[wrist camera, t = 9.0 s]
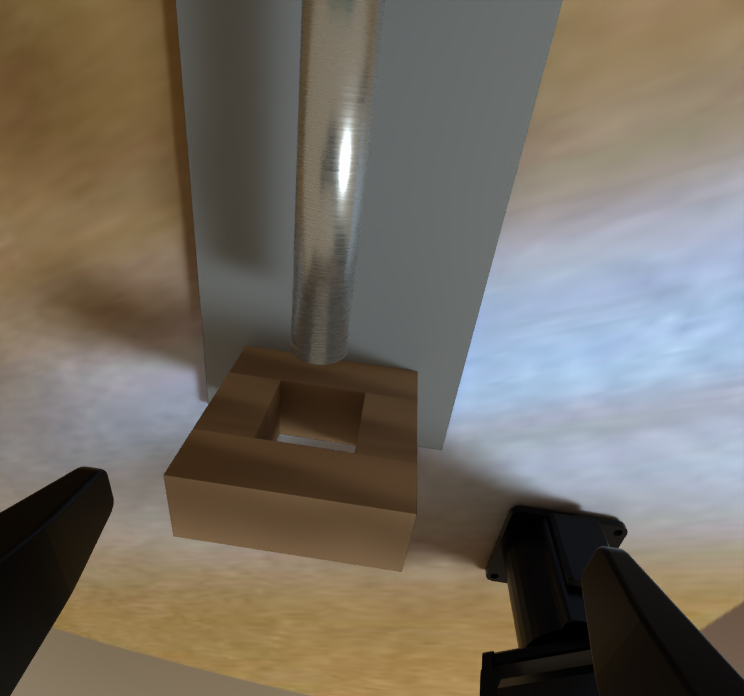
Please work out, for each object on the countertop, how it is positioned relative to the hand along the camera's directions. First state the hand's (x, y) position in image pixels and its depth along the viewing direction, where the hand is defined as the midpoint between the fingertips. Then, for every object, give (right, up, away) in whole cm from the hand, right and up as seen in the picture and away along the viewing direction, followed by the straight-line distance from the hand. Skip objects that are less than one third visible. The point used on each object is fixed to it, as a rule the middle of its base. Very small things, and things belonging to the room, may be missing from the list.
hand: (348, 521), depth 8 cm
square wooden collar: (-2, +2, +14) cm, 14 cm away
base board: (0, +9, +10) cm, 13 cm away
